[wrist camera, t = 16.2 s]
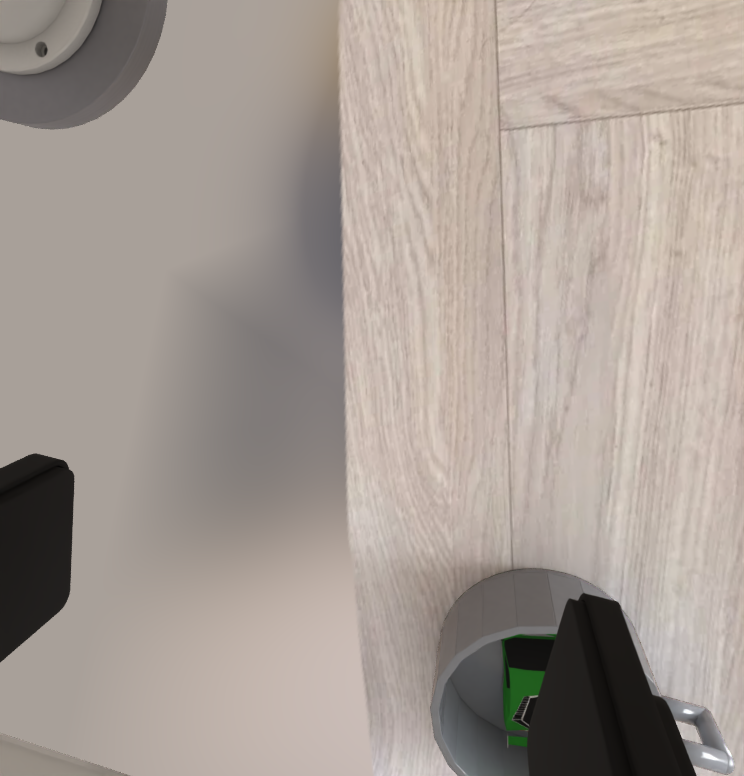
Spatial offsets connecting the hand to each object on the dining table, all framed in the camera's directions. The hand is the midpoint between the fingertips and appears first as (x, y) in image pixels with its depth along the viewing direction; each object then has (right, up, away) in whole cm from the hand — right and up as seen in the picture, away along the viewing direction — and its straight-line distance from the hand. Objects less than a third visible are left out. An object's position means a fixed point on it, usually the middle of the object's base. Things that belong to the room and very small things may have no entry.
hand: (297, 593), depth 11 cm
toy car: (+12, -14, +28) cm, 34 cm away
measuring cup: (+14, -15, +28) cm, 35 cm away
